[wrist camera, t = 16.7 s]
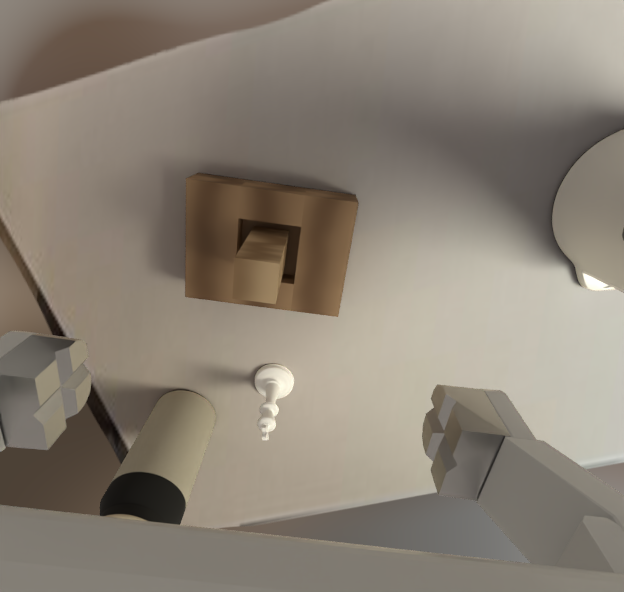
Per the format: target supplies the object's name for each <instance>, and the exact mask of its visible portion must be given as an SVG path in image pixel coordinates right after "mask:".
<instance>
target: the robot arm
mask: <svg viewBox="0 0 624 592" xmlns="http://www.w3.org/2000/svg"><path fill="white" fill-rule="evenodd" d="M552 226H553V232H554V236H555V239H556V241H557V243H558V245H559V247H560V248H561V250H562V251H563V253H564V254H565V255H566V256H567V257H568V258H569V259H570V260H571V261H572V262H573V264H574V266H575V269H576V273H577V277H578V281H579V283H580V285H581V286H582V287H584V288H586V289H589V290H592V291H600V290H619V291H621V292H623V293H624V129H623V130H621V131H619V132H616V133H614V134H612V135H610V136H608V137H606V138H605V139H603V140H601V141H600V142H598V143H597V144H595V145H594V146H593V147H592V148H590V149H589V150H588V151H587V152H586V153H584V154H583V155H582V156H581V157H580V158H579V160H578V161H577V162H576V163H575V164H574V165H573V166H572V168H571V169H570V170H569V172H568V173H567V175H566V176H565V178H564V180H563V182H562V184H561V186H560V188H559V190H558V192H557V195H556V198H555V202H554V206H553V213H552ZM88 357H89V356H88V349H87V344H86V343H85V342H84V341H83V340H81V339H74V338H67V337H60V336H53V335H46V334H40V333H39V334H37V333H32V332H23V331H9V332H8V333H6V334H5V335H3V336H2V337H0V451H2V450H4V449H5V446H7V447H18V448H29V449H41V450H48V449H49V448H50V447H51V446H52V444H53V443H54V442H55V441H56V440H57V438H58V437H59V436H60V435H61V433H62V432H63V431H64V430H65V429H66V420H65V419H67V418H69V417H71V416H73V415H75V414H77V413H78V412H79V411H80V410H81V409H82V407H83V406H84V405H85V403H86V401H87V398H88V396H89V393H90V389H91V373H90V372H89V370H88V369H87V368H86V367H85V366H84V365H83V363H84V361H85V360H86V359H87V358H88ZM431 400H432V403H433V405H434V408H433V409H432V410H430V411H429V412H428V413H426V416H425V420H424V423H423V433H422V439H423V446H424V450H425V453H426V455H427V456H428V457H429V458H430V459H431V460H432V461H433V464H432V467H431V473H432V476H433V479H434V483H435V486H436V489H437V492H438V495H441V496H448V497H455V498H462V499H468V500H475V501H477V503H478V504H479V505H480V507H481V508H482V509H483V510H484V511H485V512H486V513H487V514H488V516H489V517H490V518H491V519H492V520H493V521H494V522H495V524H496V525H497V526H498V527H499V528H500V529H501V530H502V531H503V533H504V534H505V535H506V536H507V537H508V538H509V539H510V540H511V541H512V543H513V544H514V545H515V546H516V547H517V548H518V549H519V551H520V552H521V553H522V554H523V555H524V556H525V557H526V558H527V560H528V561H529V562H530V563H521V562H513V561H504V560H494V559H485V558H476V557H466V556H457V555H448V554H438V553H429V552H419V551H412V550H403V549H393V548H385V547H376V546H366V545H357V544H349V543H340V542H331V541H322V540H313V539H305V538H295V537H286V536H277V535H269V534H260V533H251V532H241V531H232V530H223V529H214V528H205V527H196V526H187V525H178V524H168V523H159V522H150V521H141V520H132V519H123V518H114V517H105V516H95V515H86V514H77V513H68V512H59V511H50V510H40V509H32V508H22V507H14V506H4V505H0V592H624V495H622V494H621V493H619V492H618V491H616V490H615V489H614V488H612V487H611V486H609V485H608V484H606V483H605V482H603V481H602V480H600V479H599V478H597V477H596V476H594V475H593V474H591V473H590V472H589V471H587V470H586V469H584V468H583V467H581V466H580V465H578V464H577V463H575V462H574V461H572V460H571V459H569V458H568V457H566V456H565V455H564V454H562V453H561V452H559V451H558V450H556V449H555V448H553V447H552V446H550V445H549V444H547V443H546V442H544V441H540V440H536V438H535V437H534V435H533V434H532V432H531V431H530V429H529V428H528V426H527V425H526V423H525V422H524V420H523V419H522V417H521V416H520V414H519V413H518V411H517V410H516V408H515V407H514V405H513V404H512V402H511V401H510V399H509V398H508V396H507V395H506V394H505V393H504V392H502V391H500V390H489V389H474V388H465V387H456V386H447V385H437V386H436V387H435V389H434V391H433V394H432V397H431Z"/></svg>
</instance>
